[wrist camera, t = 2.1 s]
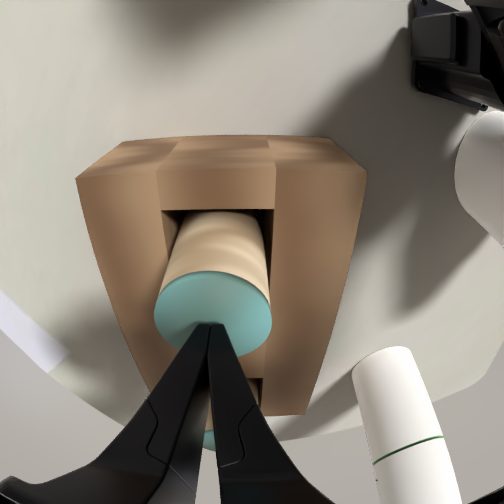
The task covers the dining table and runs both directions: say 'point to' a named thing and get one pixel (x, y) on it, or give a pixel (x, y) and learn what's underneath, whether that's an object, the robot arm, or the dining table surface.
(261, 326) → the peg
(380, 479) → the cylindrical container
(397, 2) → the dining table surface
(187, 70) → the dining table surface
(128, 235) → the socket block
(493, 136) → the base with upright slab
